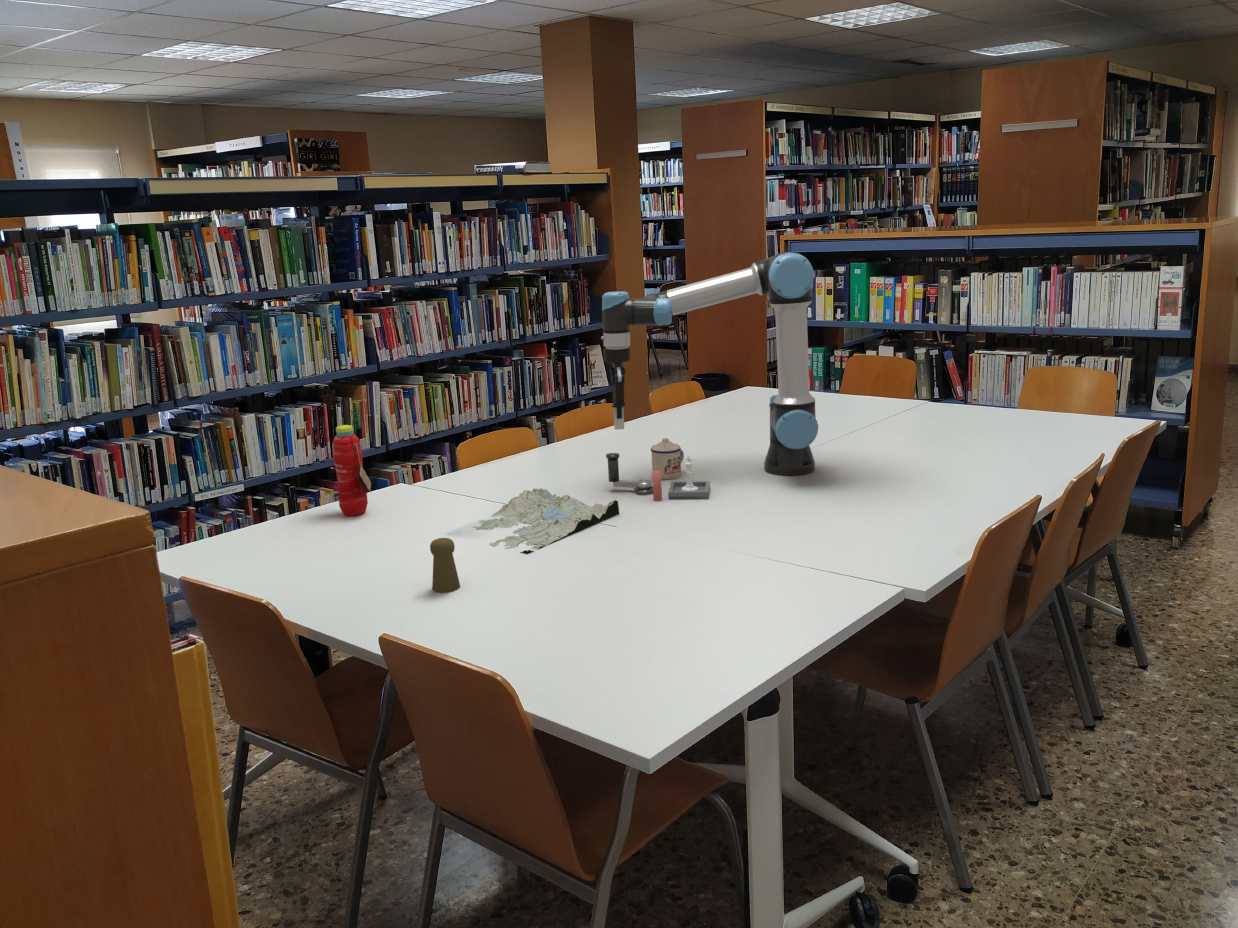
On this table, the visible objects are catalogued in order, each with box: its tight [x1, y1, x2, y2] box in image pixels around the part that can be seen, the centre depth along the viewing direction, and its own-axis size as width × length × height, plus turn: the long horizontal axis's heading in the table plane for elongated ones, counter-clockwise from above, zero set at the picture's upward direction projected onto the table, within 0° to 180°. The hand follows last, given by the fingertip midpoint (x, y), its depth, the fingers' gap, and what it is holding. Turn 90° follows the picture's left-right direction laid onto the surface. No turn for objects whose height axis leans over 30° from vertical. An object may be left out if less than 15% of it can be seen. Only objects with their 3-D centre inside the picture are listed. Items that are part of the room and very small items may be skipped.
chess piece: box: [681, 455, 699, 491], centre depth 261 cm, size 5×5×10 cm
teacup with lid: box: [650, 437, 685, 481], centre depth 281 cm, size 12×9×12 cm
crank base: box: [633, 486, 653, 496], centre depth 266 cm, size 6×6×1 cm
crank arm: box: [605, 452, 653, 489], centre depth 266 cm, size 13×4×9 cm, turn 73°
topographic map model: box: [472, 488, 620, 555], centre depth 242 cm, size 36×29×5 cm
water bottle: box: [331, 424, 372, 517], centre depth 255 cm, size 12×8×25 cm, turn 52°
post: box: [651, 471, 663, 502], centre depth 257 cm, size 2×2×8 cm
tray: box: [667, 480, 711, 500], centre depth 262 cm, size 11×11×2 cm
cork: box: [429, 537, 461, 594], centre depth 201 cm, size 6×6×11 cm
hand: (619, 428), depth 269 cm, fingers closed
